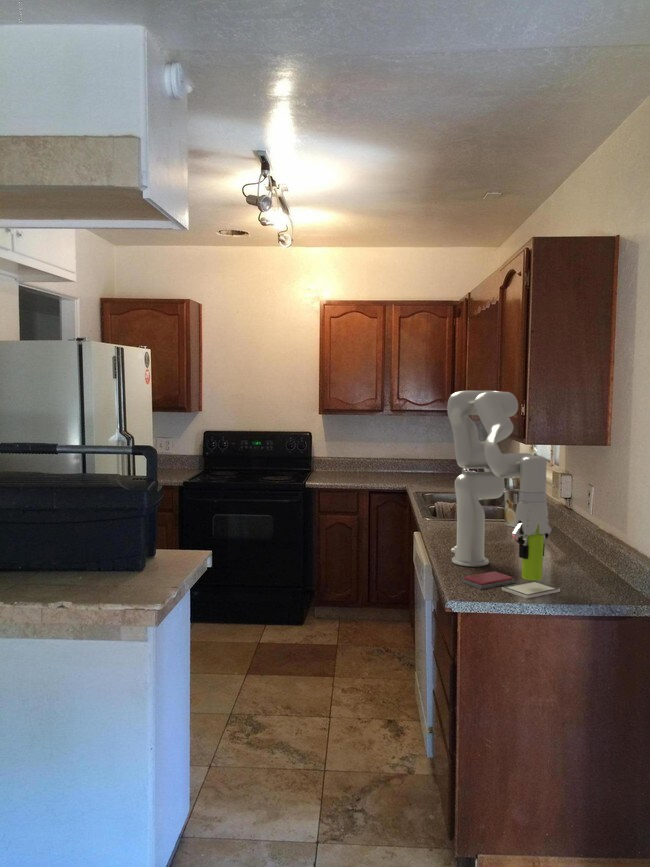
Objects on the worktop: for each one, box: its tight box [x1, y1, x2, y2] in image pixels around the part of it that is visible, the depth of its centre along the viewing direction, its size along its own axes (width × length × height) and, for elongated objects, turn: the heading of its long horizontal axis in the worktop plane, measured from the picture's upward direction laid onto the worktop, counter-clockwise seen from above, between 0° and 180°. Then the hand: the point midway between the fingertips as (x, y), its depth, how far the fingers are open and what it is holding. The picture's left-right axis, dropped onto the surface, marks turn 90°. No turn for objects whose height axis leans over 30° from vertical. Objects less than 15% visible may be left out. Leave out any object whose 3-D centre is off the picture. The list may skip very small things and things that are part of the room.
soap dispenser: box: [521, 525, 545, 582], centre depth 211 cm, size 6×7×20 cm
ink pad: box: [461, 571, 516, 590], centre depth 221 cm, size 9×14×2 cm, turn 120°
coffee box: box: [504, 488, 520, 528], centre depth 309 cm, size 9×6×16 cm
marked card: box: [501, 580, 561, 600], centre depth 212 cm, size 10×14×1 cm
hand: (531, 556), depth 211 cm, fingers closed on soap dispenser, 5 cm apart
